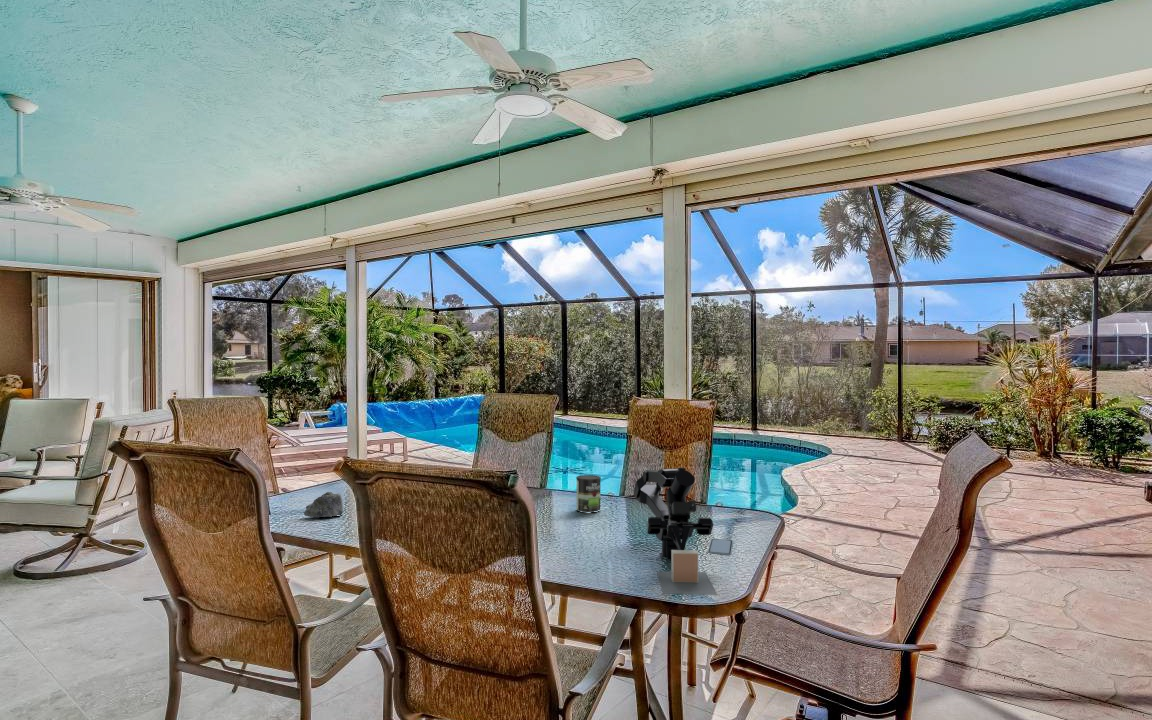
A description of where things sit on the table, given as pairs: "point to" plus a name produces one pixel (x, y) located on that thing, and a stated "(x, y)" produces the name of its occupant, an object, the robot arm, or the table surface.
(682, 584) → the mat
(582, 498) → the coffee can
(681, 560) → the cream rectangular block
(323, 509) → the mineral rock
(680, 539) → the robot arm
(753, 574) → the table surface
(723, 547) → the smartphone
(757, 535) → the table surface
